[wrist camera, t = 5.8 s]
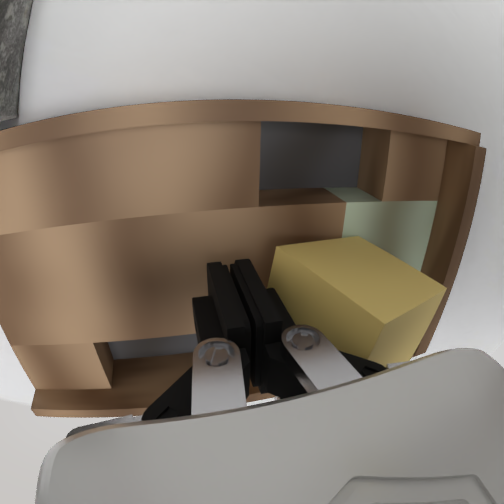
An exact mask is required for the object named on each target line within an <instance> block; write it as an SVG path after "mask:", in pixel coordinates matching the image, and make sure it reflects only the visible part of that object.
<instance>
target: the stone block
mask: <svg viewBox="0 0 504 504" xmlns="http://www.w3.org/2000/svg"><path fill="white" fill-rule="evenodd" d="M32 2H33V0H0V122H2V121H5V120H10V119H14V118H17V117H18V114H17V107H18V98H19V83H20V71H21V63H22V56H23V49H24V43H25V37H26V32H27V27H28V21H29V16H30V11H31V5H32Z"/></svg>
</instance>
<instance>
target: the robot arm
mask: <svg viewBox="0 0 504 504" xmlns="http://www.w3.org/2000/svg"><path fill="white" fill-rule="evenodd" d="M207 284H208V296H202V297H193V298H192V307H193V316H194V324H195V331H196V336H197V342H198V345H197V346H196V347H195V349H194V352H193V365H192V366H191V367H190V368H189V369H188V370H187V371H186V372H185V373H184V374H183V375H182V376H181V377H180V378H179V379H178V380H177V381H176V382H175V383H173V384H172V385H171V386H170V387H169V388H168V389H167V390H166V391H165V392H164V393H163V394H162V395H161V396H160V397H159V398H157V399H156V400H155V401H154V402H153V403H152V404H151V405H150V406H149V407H148V408H147V409H146V410H145V412H144V413H143V415H140V416H137V417H133V415H132V414H131V415H128V416H124V417H120V418H116V419H112V420H108V421H104V422H99V423H95V424H90V425H86V426H82V427H78V428H75V429H73V430H72V431H70V432H69V433H68V435H67V437H66V438H65V439H63V440H61V441H60V442H58V443H56V444H55V445H54V446H53V447H52V448H51V449H50V450H49V451H48V453H47V455H46V456H45V458H44V460H43V463H42V465H41V469H40V473H39V477H38V483H37V490H36V499H35V504H504V368H503V367H502V366H501V365H500V364H499V363H498V362H497V361H496V360H494V359H493V358H492V357H491V356H489V355H488V354H487V353H485V352H484V351H481V350H479V349H473V348H456V349H449V350H445V351H441V352H437V353H433V354H431V355H428V356H424V357H421V358H418V359H416V360H413V361H406V362H398V363H390V364H387V365H386V367H384V366H383V365H381V364H379V363H377V362H373V361H370V360H367V359H364V358H361V357H358V356H355V355H351V354H348V353H345V352H342V351H339V350H337V349H336V348H335V346H334V345H333V344H332V343H331V342H330V341H329V340H328V339H327V338H326V337H325V336H324V334H323V333H322V332H321V331H319V330H318V329H317V328H314V327H312V326H309V325H296V324H295V323H294V321H293V319H292V318H291V316H290V314H289V312H288V311H287V309H286V307H285V306H284V304H283V302H282V300H281V299H280V297H279V295H278V294H277V292H276V290H275V289H274V288H265V286H264V285H263V283H262V281H261V279H260V277H259V275H258V273H257V272H256V270H255V268H254V266H253V264H252V262H251V260H250V259H239V260H235V263H234V264H230V272H229V269H228V267H227V265H222V263H221V261H220V262H210V263H207ZM250 380H251V383H252V386H253V387H257V386H258V388H259V391H260V393H261V394H265V393H270V394H272V395H274V396H275V401H271V402H266V403H261V404H256V405H251V406H247V404H246V399H247V398H248V396H249V387H250Z"/></svg>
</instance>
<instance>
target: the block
mask: <svg viewBox="0 0 504 504" xmlns="http://www.w3.org/2000/svg"><path fill="white" fill-rule="evenodd" d="M267 288H274V289H275V290H276V292H277V294H278V295H279V297H280V299H281V300H282V302H283V304H284V306H285V307H286V309H287V311H288V312H289V314H290V316H291V318H292V319H293V321H294V323H295V324H296V325H309V326H312V327H314V328H317V329H318V330H319V331H321V332H322V333H323V334H324V336H325V337H326V338H327V339H328V340H329V341H330V342H331V343H332V344H333V345H334V346H335V348H336V349H337V350H339V351H342V352H345V353H348V354H351V355H355V356H358V357H361V358H364V359H367V360H370V361H373V362H377V363H379V364H381V365H383V366H384V367H386V365H387V364H390V363H398V362H406V361H410V359H411V357H412V356H413V354H414V352H415V350H416V349H417V347H418V345H419V343H420V341H421V340H422V338H423V336H424V334H425V332H426V330H427V328H428V326H429V324H430V323H431V321H432V319H433V317H434V315H435V313H436V311H437V308H438V306H439V304H440V302H441V300H442V298H443V296H444V294H445V292H446V289H447V288H446V287H445V286H443V285H441V284H440V283H438V282H436V281H435V280H433V279H432V278H430V277H428V276H427V275H425V274H423V273H422V272H420V271H418V270H417V269H415V268H413V267H412V266H410V265H408V264H407V263H405V262H403V261H402V260H400V259H398V258H396V257H395V256H393V255H391V254H389V253H388V252H386V251H384V250H383V249H381V248H379V247H377V246H376V245H374V244H372V243H370V242H368V241H367V240H365V239H363V238H361V237H359V236H354V237H346V238H338V239H330V240H322V241H314V242H306V243H298V244H290V245H282V246H276V250H275V255H274V259H273V264H272V268H271V273H270V277H269V281H268V286H267Z"/></svg>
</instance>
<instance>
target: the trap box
mask: <svg viewBox="0 0 504 504" xmlns="http://www.w3.org/2000/svg"><path fill="white" fill-rule="evenodd" d="M480 136H481V133H478V132H475V131H471V130H468V129H464V128H460V127H456V126H452V125H448V124H444V123H440V122H436V121H431V120H427V119H422V118H417V117H412V116H407V115H402V114H396V113H390V112H384V111H378V110H371V109H364V108H357V107H349V106H341V105H331V104H321V103H309V102H296V101H277V100H192V101H174V102H160V103H148V104H138V105H129V106H121V107H113V108H106V109H99V110H92V111H86V112H80V113H75V114H69V115H64V116H59V117H54V118H49V119H45V120H40V121H36V122H31V123H27V124H23V125H19V126H16V127H12V128H8V129H4V130H1V131H0V325H1V327H2V329H3V331H4V333H5V335H6V337H7V339H8V341H9V343H10V345H11V347H12V349H13V351H14V353H15V355H16V356H17V358H18V360H19V362H20V364H21V365H22V367H23V369H24V371H25V372H26V374H27V376H28V378H29V379H30V381H31V383H32V384H33V386H34V387H35V389H36V390H35V394H34V398H33V402H32V406H31V410H32V411H33V412H34V413H35V415H36V416H48V417H124V416H128V415H131V414H132V415H133V416H140V415H143V413H144V412H145V410H146V409H147V408H148V407H149V406H150V405H151V404H152V403H153V402H154V401H155V400H156V399H157V398H159V397H160V396H161V395H162V394H163V393H164V392H165V391H166V390H167V389H168V388H169V387H170V386H171V385H172V384H173V383H175V382H176V381H177V380H178V379H179V378H180V377H181V376H182V375H183V374H184V373H185V372H186V371H187V370H188V369H189V368H190V367H191V366H192V365H193V352H194V349H195V347H196V346H197V345H198V342H197V336H196V331H195V324H194V316H193V307H192V298H193V297H202V296H208V284H207V263H210V262H220V261H221V263H222V265H227V267H228V269H229V272H230V264H234V263H235V260H239V259H250V260H251V262H252V264H253V266H254V268H255V270H256V272H257V273H258V275H259V277H260V279H261V281H262V283H263V285H264V286H265V288H267V286H268V281H269V277H270V273H271V268H272V264H273V259H274V255H275V250H276V246H282V245H290V244H298V243H306V242H314V241H322V240H330V239H338V238H346V237H354V236H359V237H361V238H363V239H365V240H367V241H368V242H370V243H372V244H374V245H376V246H377V247H379V248H381V249H383V250H384V251H386V252H388V253H389V254H391V255H393V256H395V257H396V258H398V259H400V260H402V261H403V262H405V263H407V264H408V265H410V266H412V267H413V268H415V269H417V270H418V271H420V272H422V273H423V274H425V275H427V276H428V277H430V278H432V279H433V280H435V281H436V282H438V283H440V284H441V285H443V286H445V287H446V288H447V289H446V292H445V294H444V296H443V298H442V300H441V302H440V304H439V306H438V308H437V311H436V313H435V315H434V317H433V319H432V321H431V323H430V324H429V326H428V328H427V330H426V332H425V334H424V336H423V338H422V340H421V341H420V343H419V345H418V347H417V349H416V350H415V352H414V354H413V356H412V357H414V356H417V355H420V354H423V353H425V352H426V350H427V348H428V346H429V343H430V341H431V339H432V337H433V334H434V332H435V330H436V327H437V325H438V323H439V320H440V318H441V315H442V313H443V310H444V308H445V305H446V302H447V300H448V297H449V294H450V292H451V289H452V286H453V283H454V280H455V277H456V275H457V272H458V268H459V265H460V262H461V259H462V256H463V252H464V249H465V246H466V242H467V239H468V235H469V231H470V228H471V224H472V220H473V216H474V212H475V207H476V203H477V198H478V194H479V189H480V184H481V178H482V173H483V167H484V161H485V155H486V148H483V147H480V146H479V144H480ZM412 357H411V358H412ZM272 397H275V396H274V395H272V394H270V393H265V394H261V393H260V391H259V388H258V386H257V387H253V386H252V383H251V380H250V387H249V396H248V398H247V399H246V403H247V402H252V401H257V400H262V399H267V398H272Z"/></svg>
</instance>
